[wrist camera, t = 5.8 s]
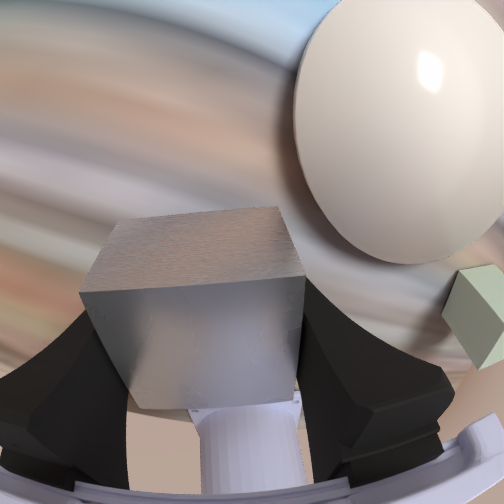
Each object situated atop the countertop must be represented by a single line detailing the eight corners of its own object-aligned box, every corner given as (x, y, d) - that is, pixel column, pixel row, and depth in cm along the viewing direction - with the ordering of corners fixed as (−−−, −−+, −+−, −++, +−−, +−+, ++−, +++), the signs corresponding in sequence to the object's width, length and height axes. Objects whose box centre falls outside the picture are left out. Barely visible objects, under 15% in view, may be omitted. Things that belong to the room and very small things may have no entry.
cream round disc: (491, 243, 14) (501, 252, 14) (287, 264, 14) (292, 278, 13) (520, 32, 8) (533, 34, 7) (283, -46, 7) (289, -56, 6)
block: (476, 305, 17) (512, 354, 13) (441, 315, 17) (478, 370, 13) (494, 264, 16) (538, 312, 11) (458, 270, 15) (506, 326, 11)
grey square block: (276, 324, 13) (293, 400, 10) (152, 333, 13) (139, 408, 10) (277, 206, 11) (306, 275, 7) (118, 221, 10) (78, 292, 7)
